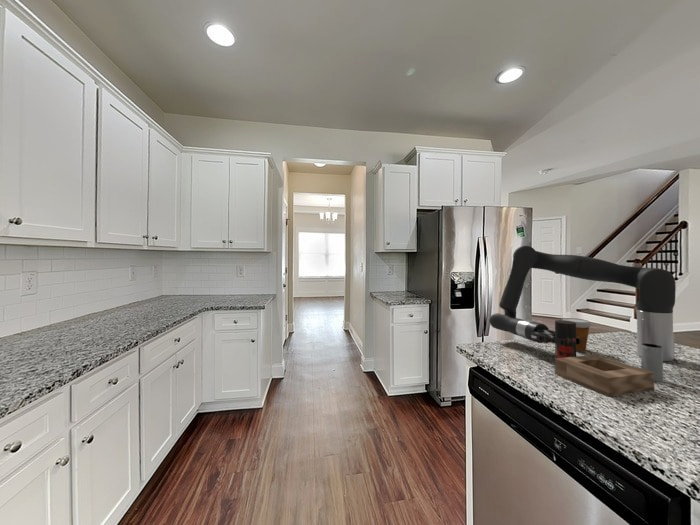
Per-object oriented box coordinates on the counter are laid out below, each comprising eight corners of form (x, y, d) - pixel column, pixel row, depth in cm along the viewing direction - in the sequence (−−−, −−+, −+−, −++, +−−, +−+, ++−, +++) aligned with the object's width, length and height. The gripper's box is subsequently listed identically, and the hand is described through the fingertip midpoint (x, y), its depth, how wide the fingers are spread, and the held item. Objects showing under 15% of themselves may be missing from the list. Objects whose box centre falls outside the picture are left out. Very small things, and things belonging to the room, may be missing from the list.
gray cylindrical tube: (667, 382, 86) (667, 347, 85) (649, 381, 86) (649, 347, 86) (654, 376, 90) (654, 343, 90) (637, 375, 91) (637, 342, 91)
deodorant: (551, 361, 104) (550, 320, 104) (566, 361, 104) (566, 319, 104) (564, 368, 98) (564, 324, 98) (580, 367, 98) (580, 323, 98)
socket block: (594, 369, 96) (594, 354, 96) (654, 390, 80) (653, 372, 80) (555, 373, 93) (554, 358, 93) (608, 396, 77) (608, 378, 77)
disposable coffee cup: (578, 353, 112) (578, 323, 112) (555, 346, 121) (555, 318, 121) (597, 351, 114) (596, 321, 114) (573, 344, 124) (573, 317, 123)
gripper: (516, 322, 113) (554, 332, 97) (546, 320, 116) (589, 330, 100) (516, 341, 113) (555, 354, 97) (546, 338, 116) (589, 351, 100)
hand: (572, 342), depth 99 cm, fingers closed on deodorant, 6 cm apart
